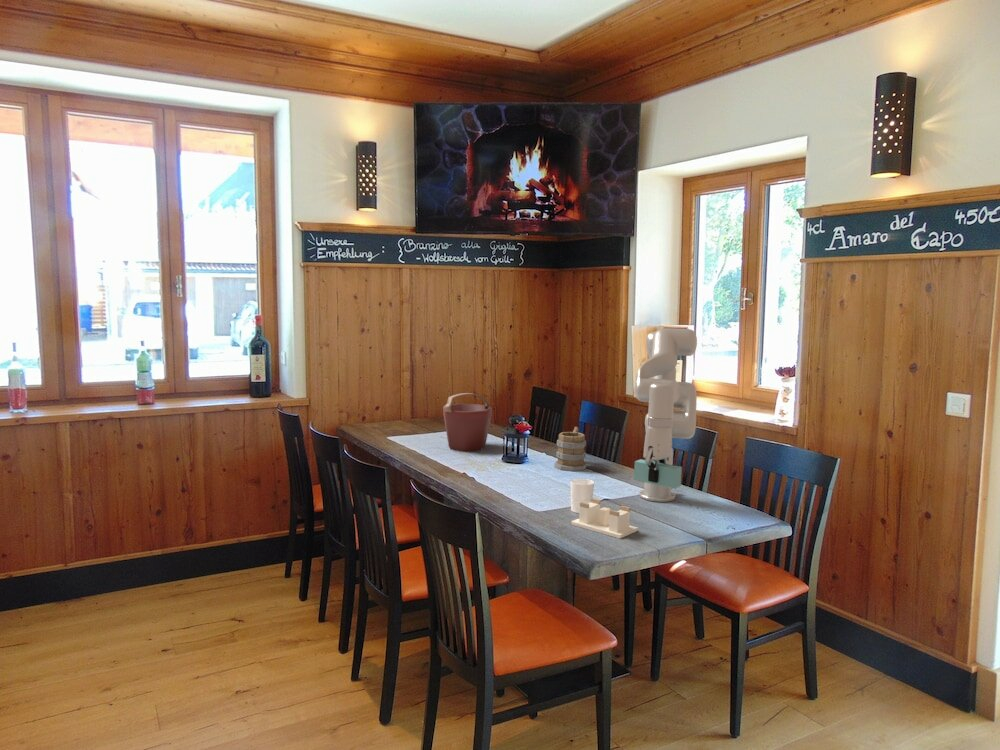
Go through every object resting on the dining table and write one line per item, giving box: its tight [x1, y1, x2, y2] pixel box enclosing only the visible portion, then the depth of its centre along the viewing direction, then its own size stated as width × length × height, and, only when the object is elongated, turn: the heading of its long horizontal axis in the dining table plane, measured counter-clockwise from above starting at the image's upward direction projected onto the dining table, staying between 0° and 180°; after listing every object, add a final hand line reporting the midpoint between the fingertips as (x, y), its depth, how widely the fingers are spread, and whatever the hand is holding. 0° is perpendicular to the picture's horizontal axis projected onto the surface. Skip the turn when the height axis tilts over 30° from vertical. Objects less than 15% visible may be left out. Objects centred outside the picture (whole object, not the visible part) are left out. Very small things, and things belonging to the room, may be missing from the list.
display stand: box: [570, 497, 639, 539], centre depth 226 cm, size 10×18×7 cm, turn 49°
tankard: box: [554, 426, 588, 472], centre depth 304 cm, size 20×13×15 cm, turn 162°
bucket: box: [442, 392, 493, 452], centre depth 332 cm, size 24×22×25 cm
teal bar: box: [633, 458, 683, 489], centre depth 226 cm, size 4×14×6 cm, turn 52°
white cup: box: [569, 478, 595, 514], centre depth 242 cm, size 8×8×10 cm
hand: (657, 479), depth 226 cm, fingers closed on teal bar, 4 cm apart
